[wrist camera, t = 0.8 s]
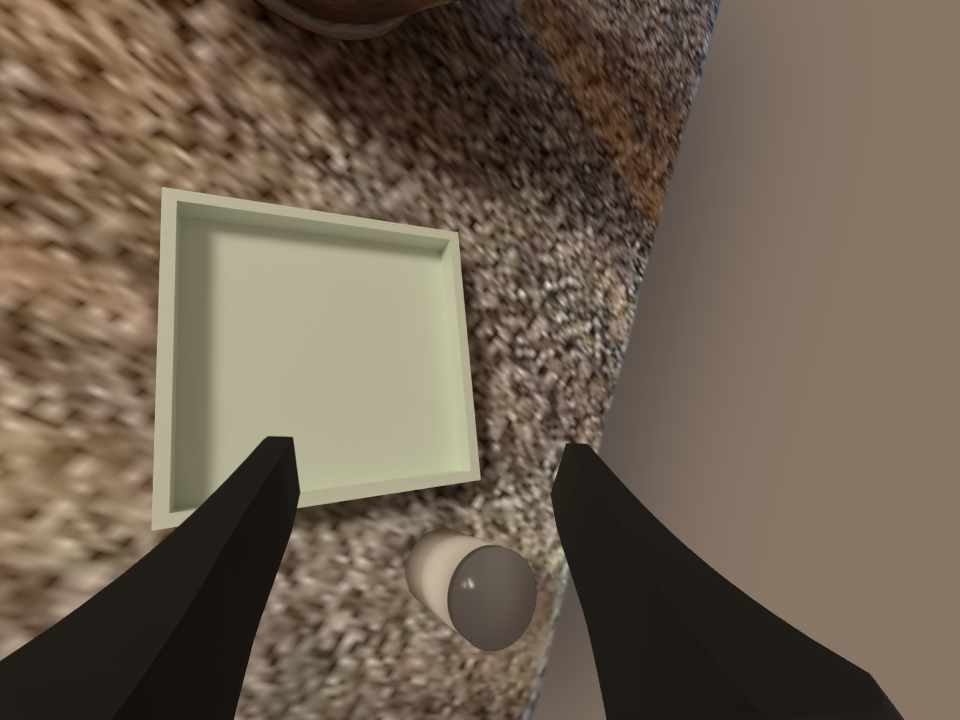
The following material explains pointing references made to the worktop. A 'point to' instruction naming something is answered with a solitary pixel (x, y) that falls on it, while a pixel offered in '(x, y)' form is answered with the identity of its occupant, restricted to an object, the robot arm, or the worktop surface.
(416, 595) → the cylinder
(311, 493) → the tray
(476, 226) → the worktop surface
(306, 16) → the jug
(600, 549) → the robot arm
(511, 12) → the worktop surface
